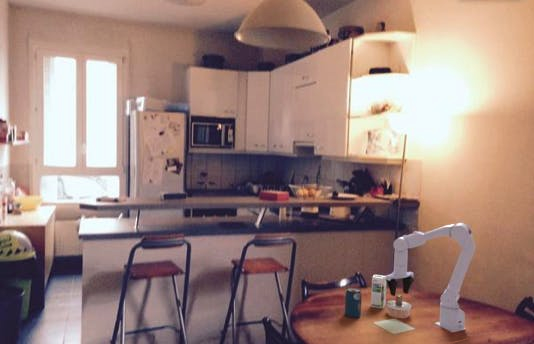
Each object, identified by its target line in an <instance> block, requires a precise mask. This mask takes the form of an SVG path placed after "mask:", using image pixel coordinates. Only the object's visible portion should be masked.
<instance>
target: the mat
mask: <svg viewBox="0 0 534 344" xmlns="http://www.w3.org/2000/svg"><path fill="white" fill-rule="evenodd" d="M373 324H375V325H377V326H378V327H380V328H382V329H384V330H385V331H387V332H389V333H390V334H392V335H395V334H400V333H404V332H408V331H413V330H416V328H415V327H412V326H411V325H409V324H407V323H405V322H403V321H401V320H399V319H398V318H395V317H393V318H390V319H385V320H380V321H375V322H373Z"/></svg>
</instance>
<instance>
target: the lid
mask: <svg viewBox="0 0 534 344" xmlns="http://www.w3.org/2000/svg"><path fill="white" fill-rule="evenodd" d="M403 298H404V297H403V294H395V299H394V300H393V299H392V300H387V301H385V307H387V309H388V308H390V309H393V310H397V311H409V312H410V311H411V310H412V309H413V306H412V304H410V303H409V302H406V301H403Z"/></svg>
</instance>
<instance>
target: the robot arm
mask: <svg viewBox="0 0 534 344" xmlns="http://www.w3.org/2000/svg"><path fill="white" fill-rule="evenodd" d="M473 235H474V234H473V230H472V229H471V228H470V226H469V225H468V224H467V223H466V222H465V223H464V222H458V223H451V224H448V225H444V226H441V227H438V228H435V229H433V230H430V231H426V232H422V231H416V230H415V231H413V232H412V233H410V234H404V235H402V236H400V237H398V238H396V239H395V240H394V241H393V245H392V246H393V249H394V257H393V258H394V259H393V271H392V273H389V274H386V275H385V276H386V285H387V286H388V289H389V293H390V296H392V297H396V295H397V294H396V292H397V286H398V284H399V282H398V281H396V280H399V279H401V280H402V292H403V293H404V294H406V295H408V293H409V291H410V288H411V286H412V284H413V282H414V280H415V278H414V275H415V274H414V272H412V271H408V260H409V259H408V258H409V257H408V256H409V255H408V254H409V253H408V251H409V249H413V248H417V247H420V246H423V245H425V243H426V242H427V241H428V240H433V239H437V238H440V237H447V238H449V239H450V238H452V239H453V240H454V241H456V242H457V243H458V245H459V247H460V248H461V251H460V254H459V256H458V259H457V262H456V264H455V267H454V268H453V269H454V270H453V272H452V274H451V277H450V280H449V282H448V285H447V287H446V288H445V289H444V290H443V293H442V294H441V295H440V300H439V301H440V307H439V321H437V322H435V323H434V325H437V326H439V327H440V328H443V329H445V330H447V331H449V332H451V333H456V332H461V331H465V330H466V327H465V324H466V313H465V311H464V310H462V309H461V308H460V305H459V303H458V301H459V299H460V290H461V287H462V284H463V281H464V279H465V277H466V274H467V272H468V269H469V266H470V264H471V261H472V258H473V257H474V253H475V251H476V248H477V247H476V242H475V239H474V236H473Z"/></svg>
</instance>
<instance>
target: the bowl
mask: <svg viewBox="0 0 534 344" xmlns="http://www.w3.org/2000/svg"><path fill="white" fill-rule="evenodd" d="M387 315H388V316H390V317H392V318H395V319H408V318H409V316H410V310H409V311H397V310H393V309H390V308H388V307H387Z"/></svg>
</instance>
